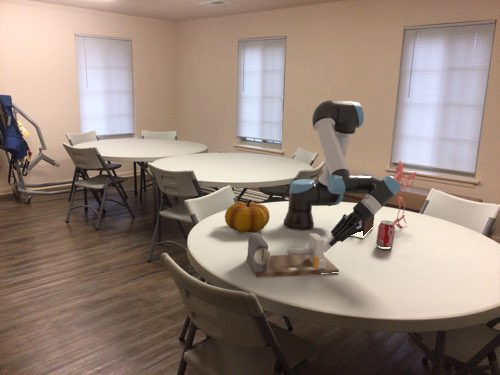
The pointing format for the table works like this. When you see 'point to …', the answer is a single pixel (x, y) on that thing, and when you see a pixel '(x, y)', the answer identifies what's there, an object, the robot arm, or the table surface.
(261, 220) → the decorative pumpkin
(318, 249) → the white stepped block
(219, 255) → the table surface
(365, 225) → the letter holder
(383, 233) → the soda can
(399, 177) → the figurine
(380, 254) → the table surface
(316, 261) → the orange flat block
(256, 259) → the bench
